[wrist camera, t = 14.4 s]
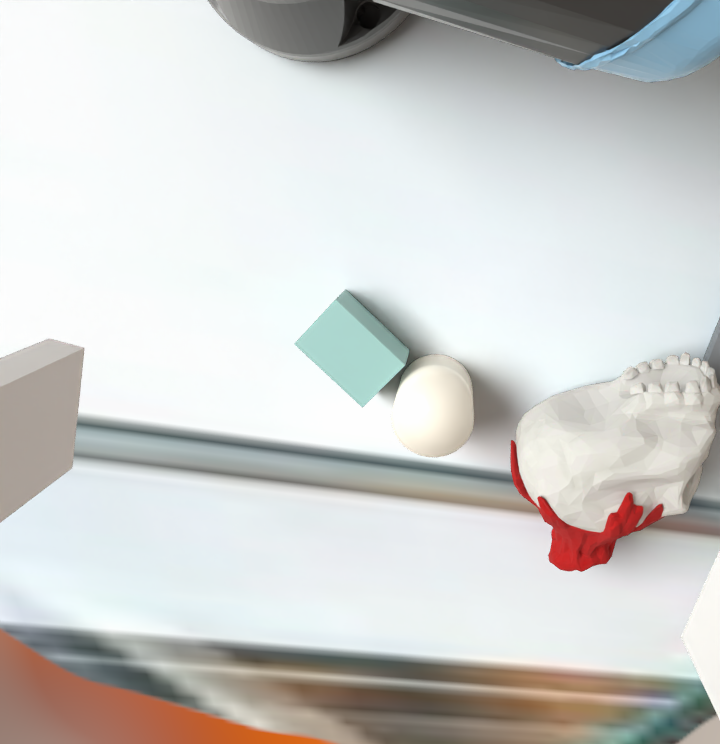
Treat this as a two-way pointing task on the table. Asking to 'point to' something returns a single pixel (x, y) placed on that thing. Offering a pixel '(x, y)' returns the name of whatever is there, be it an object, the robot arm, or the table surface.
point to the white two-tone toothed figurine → (616, 455)
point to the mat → (714, 352)
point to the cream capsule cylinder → (434, 406)
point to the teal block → (354, 348)
